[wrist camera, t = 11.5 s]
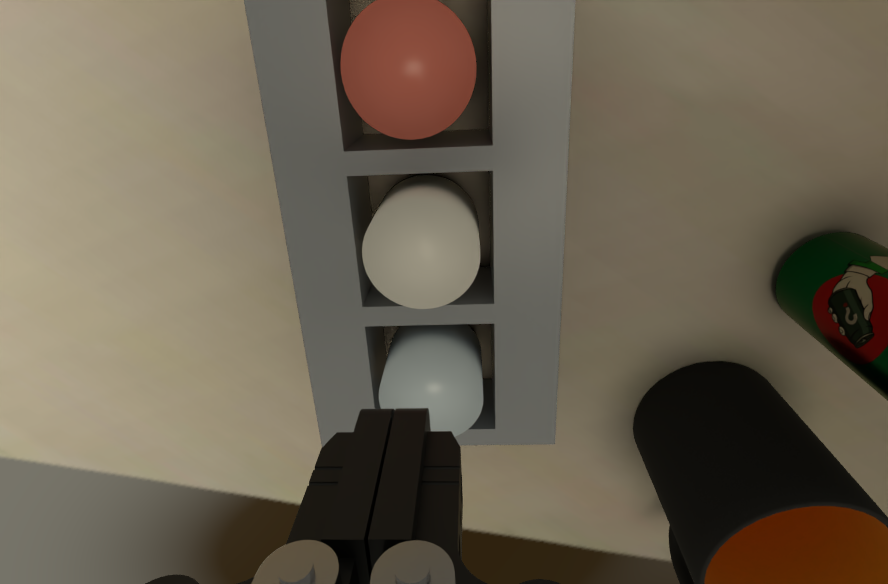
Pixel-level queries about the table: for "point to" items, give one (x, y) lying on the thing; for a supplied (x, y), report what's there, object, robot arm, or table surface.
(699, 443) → the mug
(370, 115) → the red rounded block
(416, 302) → the beige rounded block
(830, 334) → the soda can
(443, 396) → the pale blue rounded block
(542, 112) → the three-slot peg holder
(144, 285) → the table surface
